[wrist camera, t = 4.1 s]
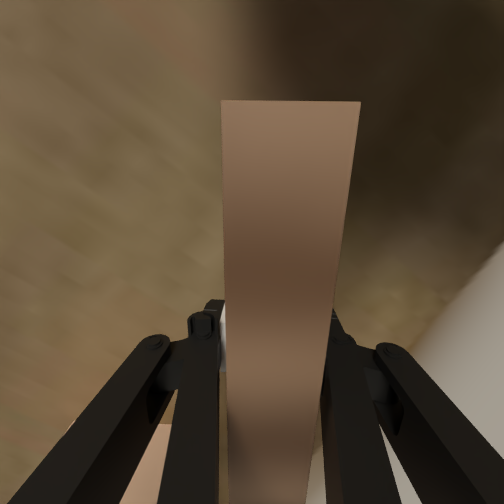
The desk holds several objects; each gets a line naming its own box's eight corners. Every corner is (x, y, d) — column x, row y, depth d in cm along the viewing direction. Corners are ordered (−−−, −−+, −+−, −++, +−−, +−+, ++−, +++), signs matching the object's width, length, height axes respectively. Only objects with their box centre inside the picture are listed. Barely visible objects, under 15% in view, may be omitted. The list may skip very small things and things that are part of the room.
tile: (74, 420, 25) (-41, 576, 15) (197, 425, 25) (158, 587, 15) (78, 435, 25) (-30, 594, 16) (198, 440, 25) (161, 604, 16)
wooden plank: (247, 138, 15) (221, 100, 6) (299, 139, 15) (361, 101, 5) (244, 379, 21) (230, 556, 12) (281, 380, 21) (297, 561, 11)
